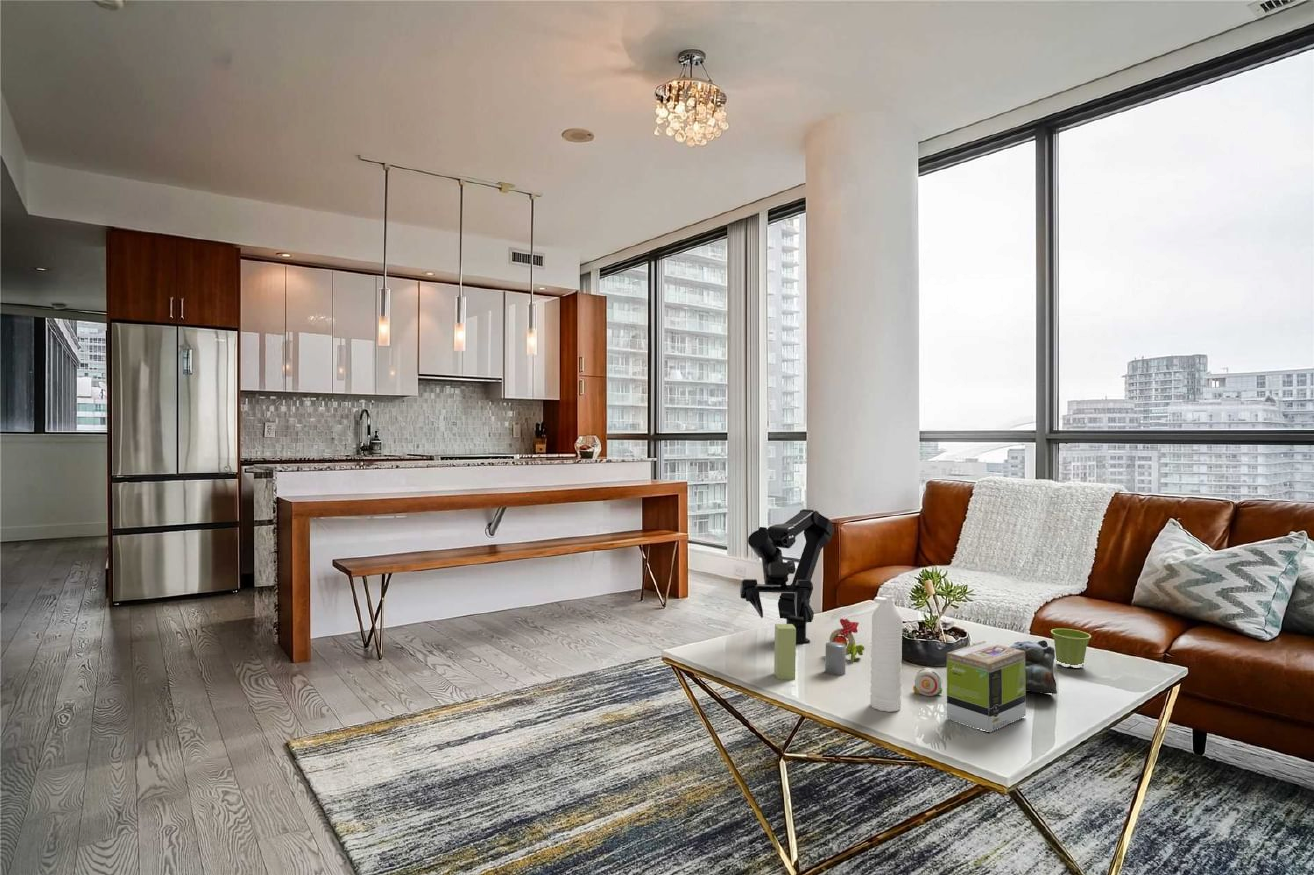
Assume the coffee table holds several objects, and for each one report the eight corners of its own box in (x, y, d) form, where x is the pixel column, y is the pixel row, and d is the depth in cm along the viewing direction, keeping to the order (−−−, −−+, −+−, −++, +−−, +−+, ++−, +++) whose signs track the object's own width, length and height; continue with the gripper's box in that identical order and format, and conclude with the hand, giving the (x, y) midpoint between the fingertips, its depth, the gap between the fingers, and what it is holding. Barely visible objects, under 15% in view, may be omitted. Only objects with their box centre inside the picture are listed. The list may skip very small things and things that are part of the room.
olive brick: (774, 673, 189) (775, 623, 189) (791, 673, 189) (792, 624, 189) (777, 679, 185) (778, 628, 185) (795, 679, 185) (796, 628, 185)
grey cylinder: (822, 669, 193) (822, 642, 193) (840, 668, 194) (840, 641, 193) (830, 676, 188) (830, 648, 188) (848, 675, 189) (849, 647, 189)
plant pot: (1098, 669, 197) (1099, 636, 197) (1072, 672, 193) (1073, 639, 193) (1067, 658, 206) (1068, 627, 205) (1041, 662, 202) (1042, 630, 202)
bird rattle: (832, 667, 202) (863, 659, 197) (817, 626, 204) (847, 617, 199) (841, 661, 207) (871, 653, 202) (826, 622, 209) (855, 613, 205)
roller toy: (941, 699, 172) (941, 674, 172) (912, 695, 175) (912, 670, 175) (942, 693, 176) (943, 669, 176) (914, 689, 179) (914, 665, 179)
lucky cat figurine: (979, 687, 181) (982, 630, 186) (1012, 701, 185) (1014, 645, 191) (1036, 688, 168) (1037, 627, 174) (1070, 702, 173) (1070, 642, 179)
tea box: (982, 704, 170) (984, 639, 169) (1026, 718, 161) (1028, 650, 161) (944, 719, 161) (945, 650, 160) (989, 735, 152) (990, 662, 152)
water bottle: (876, 699, 172) (878, 590, 171) (904, 706, 168) (907, 594, 167) (862, 710, 165) (864, 597, 164) (891, 717, 161) (893, 601, 160)
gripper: (742, 548, 199) (747, 599, 188) (812, 549, 199) (821, 600, 188) (737, 572, 207) (742, 623, 196) (805, 573, 207) (813, 623, 196)
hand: (779, 617), depth 194 cm, fingers open, 9 cm apart
